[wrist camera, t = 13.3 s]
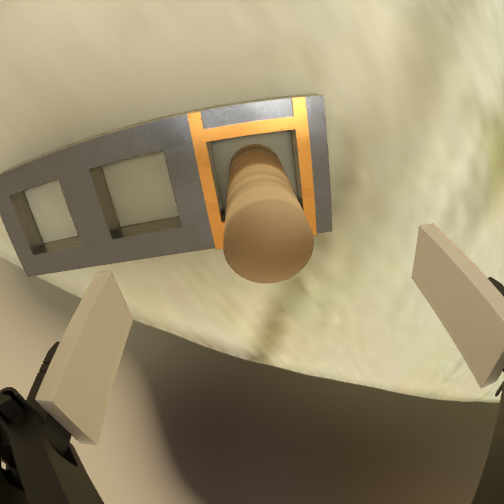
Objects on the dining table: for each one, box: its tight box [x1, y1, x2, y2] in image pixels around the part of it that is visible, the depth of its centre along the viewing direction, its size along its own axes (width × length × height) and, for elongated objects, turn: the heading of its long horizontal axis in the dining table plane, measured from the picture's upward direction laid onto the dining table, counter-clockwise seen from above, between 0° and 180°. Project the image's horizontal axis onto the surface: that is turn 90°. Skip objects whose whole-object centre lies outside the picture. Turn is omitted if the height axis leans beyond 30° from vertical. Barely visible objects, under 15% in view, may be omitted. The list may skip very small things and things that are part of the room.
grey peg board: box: [0, 94, 332, 277], centre depth 27 cm, size 12×33×3 cm, turn 98°
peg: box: [223, 144, 314, 283], centre depth 21 cm, size 4×4×14 cm
